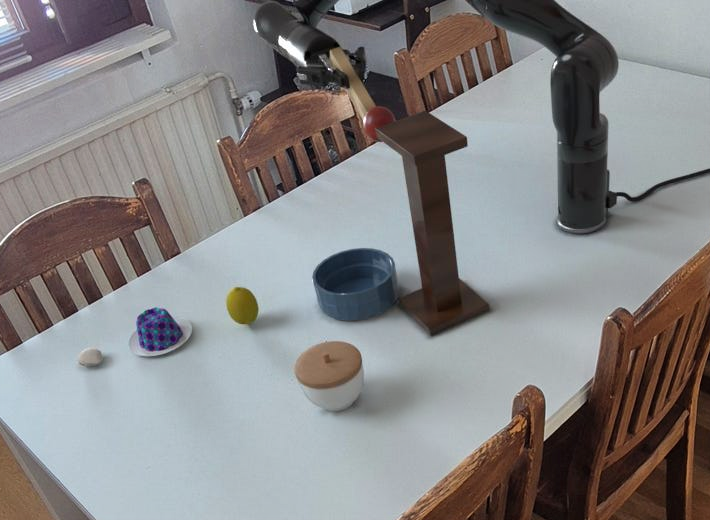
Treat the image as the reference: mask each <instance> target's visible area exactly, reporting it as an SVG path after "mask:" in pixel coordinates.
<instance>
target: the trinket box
mask: <svg viewBox="0 0 710 520" xmlns="http://www.w3.org/2000/svg"><path fill="white" fill-rule="evenodd" d="M293 370H294V375H295V378H296V379H297V382H298V384H299V387H300V389H301V391H302V393H303V394H304V396H305V397H306V399H307V400H308V401H309V402H310V403H311V404H313V405H314V406H316V407H317V408H320V409H323V410H325V411H328V412H340V411H344V410H345V409H348V408H350V407H351V406H352V405H353V404H354V403H355V402H356V400H357V398H358V397H359V396H360V394H361V393H362V390H363V388H364V382H365V372H364V371H365V370H364V365H363V357H362V353H361V350H359V349H358V348H357V346H355V345H354V344H351V343H349V342H346V341H339V340H332V341H324V342H320V343H317V344H315V345H312V346H310V347H309V348H307V349H306V350H304V351H303V352H301V354H299V356H298V357H297V358H296V360H295V362H294V366H293Z"/></svg>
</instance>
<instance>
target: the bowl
mask: <svg viewBox="0 0 710 520" xmlns="http://www.w3.org/2000/svg"><path fill="white" fill-rule="evenodd" d="M311 280H312V284H313V287H314V292H315V295H316V298H317V302H318V306H319V309H320V310H321V312H323V314H324V315H326V316H328V317H330V318H332V319H336V320H341V321H358V320H359V321H360V320H364V319H368V318H372V317H375V316H377V315H379V314H382V313H384V312H385V311H386V310H388V309H389V308H391V307H392V306H393V305H394V304H395V302H396V301H397V300H398V298H399V296H400V285H399V279H398V273H397V266H396V263H395V260H394V258H393V257H392V255H390V254H389V253H388V252H385V251H384V250H381V249H377V248H372V247H371V248H370V247H358V248H349V249H346V250H342V251H339V252H336V253H334V254H332V255H330V256H328V257H326V258H325V259H323V260H322V261H321V262H320V263H318V264H317V266H316V267H315V268H314V270H313V271H312V277H311Z"/></svg>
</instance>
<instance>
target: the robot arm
mask: <svg viewBox="0 0 710 520" xmlns="http://www.w3.org/2000/svg"><path fill="white" fill-rule="evenodd" d="M291 2H292V4H293V5H294V7H295V9H296V10H297V12H298V13H299V14H300V17H298V18H297V17H296V16H295V15H294V14H293V13H292V12H291V11H290V10H288V9H287V8H286V7H285V6H283V5H282V4H281V3H279V1H278V2H277V1H275V0H269V1H266V2H263V3H261V4H260V5H259V7H257V9H256V11H255V13H254V15H253V28H254V31H255V34H256V35H257V36H258V38H260V39H261V40H262V41H264V42H265V43H266V44H267V45H269V46H270V47H271V48H273V49H274V50H275V51H276V52H277V53H278V54H280V55H281V56H282V57H284V58H287V60H288V61H290V62H292V63H293V65H294V66H295V67H296V68H295V69H296V72H297V78H298V82H299V84H301V85H306V86H307V85H308V86H314V87H321V88H325V87H328V86H329V84H331V85H333V86H338V87H339V88H343V89H344V90H345V89H348V88H350V85H349V79H348V76H347V74H345V73H344V72H342V71H341V70H339V69H336V67H335V66H334V65H333V64H332V61H331V60H330V50H332V49H335V48H338V47H341V48H342V46H341V45H340V44H339V42H338V41H337V40H336V38H334V37H333V36H331V35H329V34H327V33H326V32H324V31H322V29H320V28H317V26H318V25H319V23H320V22H321V20H322V19H323V17H324V16H326V14H327V13H328V12H329V11H330V10H332V9H333V7H334V6H335V5H336V4H337V3H338V2H340V0H291ZM465 2H466V3H468V5H470V7H472V8H473V9H474V10H475V11H476V12H477V13H478V14H480V15H481V16H482V17H483V18H484V19H485V20H486V21H488V22H489V23H490V24H492V25H493V26H495V27H497V28H499V29H502V30H504V31H506V32H509V33H512V34H514V35H517V36H519V37H523V38H526V39H529V40H532V41H534V42H536V43H538V44H540V45H541V46H543V47H544V48H545V49H547V50H548V51H549V52H550V53H551V54H552V55H554V56H555V58H554V61H553V63H552V66H551V70H550V79H549V81H550V82H549V85H550V105H551V117H552V122H553V125H554V128H555V130H556V151H557V152H556V155H557V157H556V158H557V159H556V160H557V163H556V164H557V167H556V168H557V173H556V174H557V206H556V212H557V220H556V221H557V226H558V228H559V229H561V230H562V231H564V232H566V233H570V234H574V235H575V234H577V235H582V234H583V235H584V234H589V233H593V232H596V231H598V230H600V229H601V228H603V227H604V226H605V224H606V221H607V218H608V217H609V209H612V208H613V207H614V206H616V205H617V204H618V197H623V198H625V199H626V200H627V201H629V202H639V201H641V200H643V199H645V198H646V197H648V196H649V195H650V194H652V193H653V192H654V191H656V190H657V189H659V188H662V187H665V186H667V185H671V184H675V183H677V182H682V181H686V180H689V179H694V178H696V177H699V176H703V175H706V174H709V173H710V167H709V168H706V169H702V170H699V171H696V172H692V173H689V174H685V175H681V176H678V177H673V178H671V179H667V180H664V181H662V182H659V183H657V184H655V185H653V186H651V187H650V188H648V189H647V190H646V191H644V192H643V193H642V194H640V195H638V196H631V195H630V194H628V193H627V192H624V191H612V190H610V176H611V175H610V174H611V173H610V170H609V169H608V160H609V159H608V154H609V129H610V128H609V127H610V126H609V118H607V116H606V115H605V114H603V113H601V110H600V109H601V107H600V103H601V102H600V98H601V97H600V95H601V92H603V90H605V89H606V88H607V87H608V86H610V84H611V83H612V82H613V81H614V79H615V78H616V77H617V74H618V73H619V63H620V62H619V57H618V53H617V51H616V49H615V47H614V46H613V44H612V43H611V42H610V40H609V39H607V38H606V37H605V36H604V35H603V34H602V33H600V32H599V31H597V30H596V29H594V28H593V27H591V26H590V25H588V24H587V23H585V22H584V21H583V20H581V18H578V17H577V16H575V15H574V14H573V13H571V12H570V11H568V10H567V9H566V8H564V7H563V6H562V5H561V4H560V3H559V2H557V0H465ZM342 50H343V52H344V54H345V55H346V57H347V59H348V60H349V62H350V64H351V65H352V67H353V69H354V71H355V72H356V74H357V76H358V77H359V79H360V80H361V82H362V84H363V85H364V84H365V82H364V81H365V80H366V79H365V74H366V71H367V64H368V61H367V55H366V49H365V46H359V47H357V49H355V50H354V52H351V51H350V50H349V49H346V48H342Z"/></svg>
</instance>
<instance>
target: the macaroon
mask: <svg viewBox="0 0 710 520" xmlns="http://www.w3.org/2000/svg"><path fill="white" fill-rule="evenodd" d="M76 359H77V362H78V364H79V365H81V366H82V367H92V366H96V365H98V364H100V363H101V362H102V359H103V355H102V351H101V350H100V349H98V348H97V347H87V348H86V349H83V350H82V351H81V352H79V354H78V356H77V358H76Z"/></svg>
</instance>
